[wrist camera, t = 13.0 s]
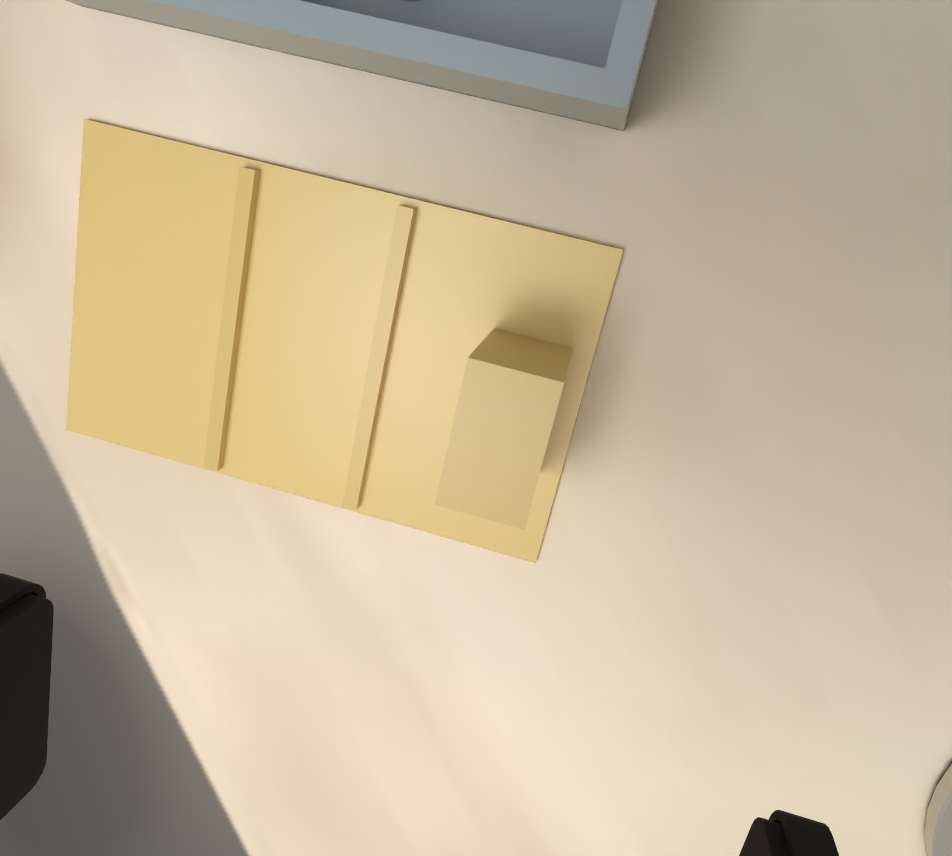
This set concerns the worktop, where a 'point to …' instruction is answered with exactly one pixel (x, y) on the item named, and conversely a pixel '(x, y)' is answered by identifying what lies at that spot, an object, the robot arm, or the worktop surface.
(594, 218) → the worktop surface
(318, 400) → the lid
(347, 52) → the tub
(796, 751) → the worktop surface
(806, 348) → the worktop surface
